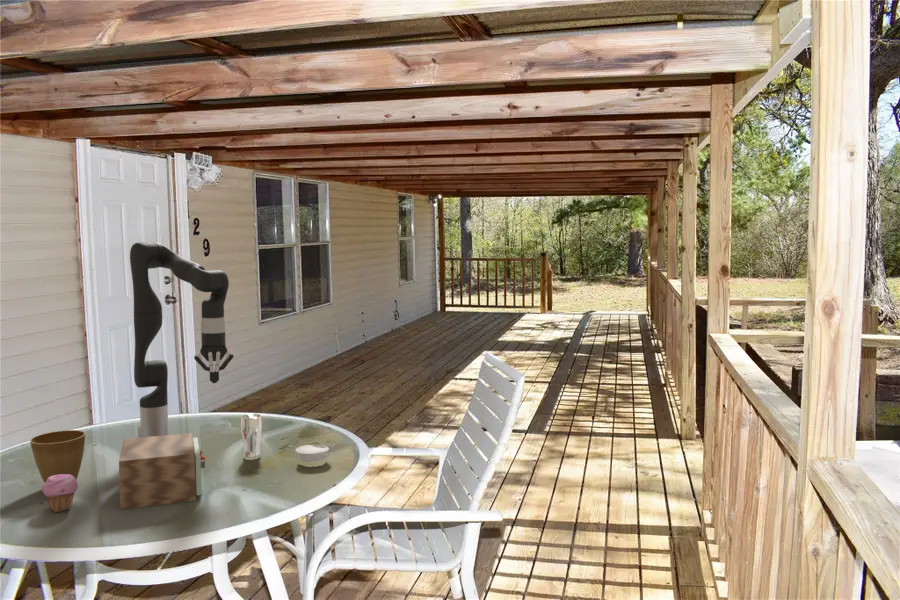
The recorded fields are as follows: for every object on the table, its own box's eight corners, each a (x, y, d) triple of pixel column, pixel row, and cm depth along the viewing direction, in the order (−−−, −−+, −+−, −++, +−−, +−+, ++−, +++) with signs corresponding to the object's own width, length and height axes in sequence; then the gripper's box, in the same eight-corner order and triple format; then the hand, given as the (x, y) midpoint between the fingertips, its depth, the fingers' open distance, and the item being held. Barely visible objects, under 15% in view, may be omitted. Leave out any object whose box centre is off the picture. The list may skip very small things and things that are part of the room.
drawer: (203, 470, 231) (202, 436, 230) (207, 494, 209) (206, 456, 208) (131, 478, 223) (130, 443, 222) (128, 503, 201) (126, 465, 201)
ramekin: (334, 460, 246) (334, 445, 246) (320, 470, 236) (320, 454, 235) (305, 457, 249) (305, 443, 249) (289, 467, 239) (289, 452, 238)
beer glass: (265, 455, 251) (264, 413, 250) (258, 461, 245) (257, 418, 243) (246, 454, 252) (245, 413, 251) (238, 460, 245) (237, 418, 244)
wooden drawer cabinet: (192, 475, 230) (191, 432, 229) (195, 500, 208) (194, 453, 207) (125, 482, 223) (123, 439, 221) (120, 509, 200) (118, 461, 199)
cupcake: (39, 508, 201) (38, 474, 200) (72, 501, 207) (71, 467, 206) (48, 517, 194) (47, 482, 194) (83, 509, 201) (81, 474, 200)
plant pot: (74, 475, 229) (72, 427, 228) (96, 486, 220) (93, 435, 218) (24, 488, 218) (21, 437, 216) (44, 499, 208) (41, 446, 207)
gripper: (192, 333, 228) (193, 386, 229) (235, 331, 233) (236, 383, 234) (191, 330, 235) (192, 382, 236) (233, 328, 240) (234, 379, 241)
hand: (214, 382), depth 235 cm, fingers closed
